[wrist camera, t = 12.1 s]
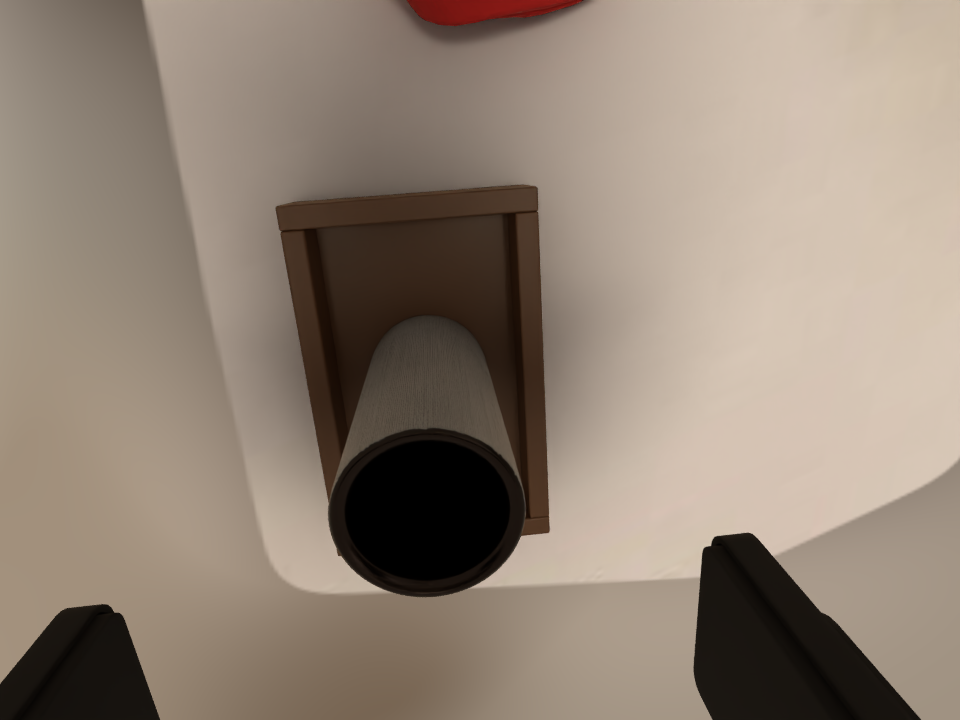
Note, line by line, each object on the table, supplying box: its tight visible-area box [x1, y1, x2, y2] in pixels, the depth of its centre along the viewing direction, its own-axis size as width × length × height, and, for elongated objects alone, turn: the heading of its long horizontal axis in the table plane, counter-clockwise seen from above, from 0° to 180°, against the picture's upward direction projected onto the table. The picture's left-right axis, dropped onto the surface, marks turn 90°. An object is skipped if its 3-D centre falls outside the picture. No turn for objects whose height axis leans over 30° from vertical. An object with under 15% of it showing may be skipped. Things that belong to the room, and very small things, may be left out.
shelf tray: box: [276, 185, 550, 556], centre depth 22 cm, size 14×9×3 cm, turn 4°
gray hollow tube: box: [328, 315, 526, 597], centre depth 18 cm, size 4×4×10 cm
